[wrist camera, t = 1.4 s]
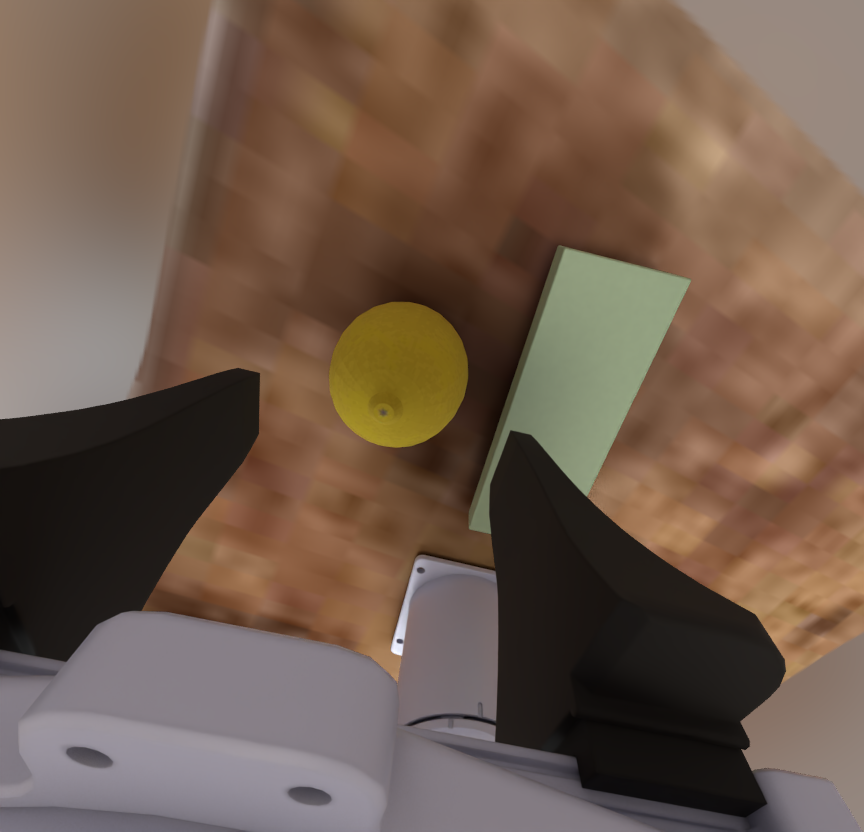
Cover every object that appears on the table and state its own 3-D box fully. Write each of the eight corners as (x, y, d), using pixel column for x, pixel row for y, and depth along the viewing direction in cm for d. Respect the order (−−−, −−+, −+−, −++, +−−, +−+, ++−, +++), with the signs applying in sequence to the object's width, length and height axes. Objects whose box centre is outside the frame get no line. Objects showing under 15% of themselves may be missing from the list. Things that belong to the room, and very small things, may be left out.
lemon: (487, 317, 20) (498, 376, 13) (439, 412, 22) (426, 506, 15) (380, 267, 19) (329, 298, 12) (342, 369, 22) (280, 446, 15)
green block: (551, 514, 25) (561, 551, 22) (468, 495, 25) (468, 529, 22) (660, 269, 19) (692, 279, 16) (550, 242, 18) (564, 247, 16)
